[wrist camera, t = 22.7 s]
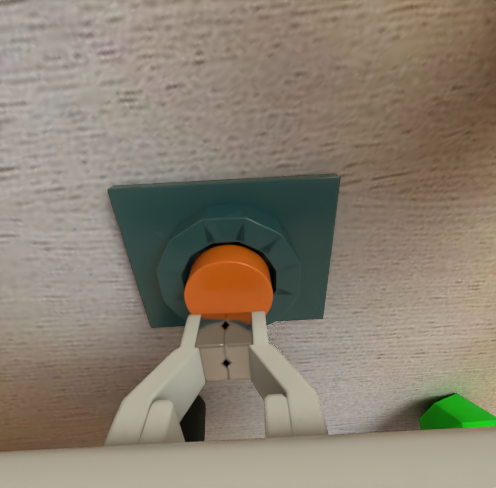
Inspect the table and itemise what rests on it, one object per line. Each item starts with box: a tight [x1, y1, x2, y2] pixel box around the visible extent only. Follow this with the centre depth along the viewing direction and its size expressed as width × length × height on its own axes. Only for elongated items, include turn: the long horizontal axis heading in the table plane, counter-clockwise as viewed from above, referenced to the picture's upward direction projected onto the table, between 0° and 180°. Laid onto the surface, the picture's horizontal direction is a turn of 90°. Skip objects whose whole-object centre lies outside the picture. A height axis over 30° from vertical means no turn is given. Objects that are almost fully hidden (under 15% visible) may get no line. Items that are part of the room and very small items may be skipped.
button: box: [184, 245, 273, 315], centre depth 12 cm, size 4×4×2 cm
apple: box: [419, 393, 496, 430], centre depth 20 cm, size 7×6×9 cm
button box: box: [108, 174, 340, 328], centre depth 13 cm, size 11×9×2 cm
